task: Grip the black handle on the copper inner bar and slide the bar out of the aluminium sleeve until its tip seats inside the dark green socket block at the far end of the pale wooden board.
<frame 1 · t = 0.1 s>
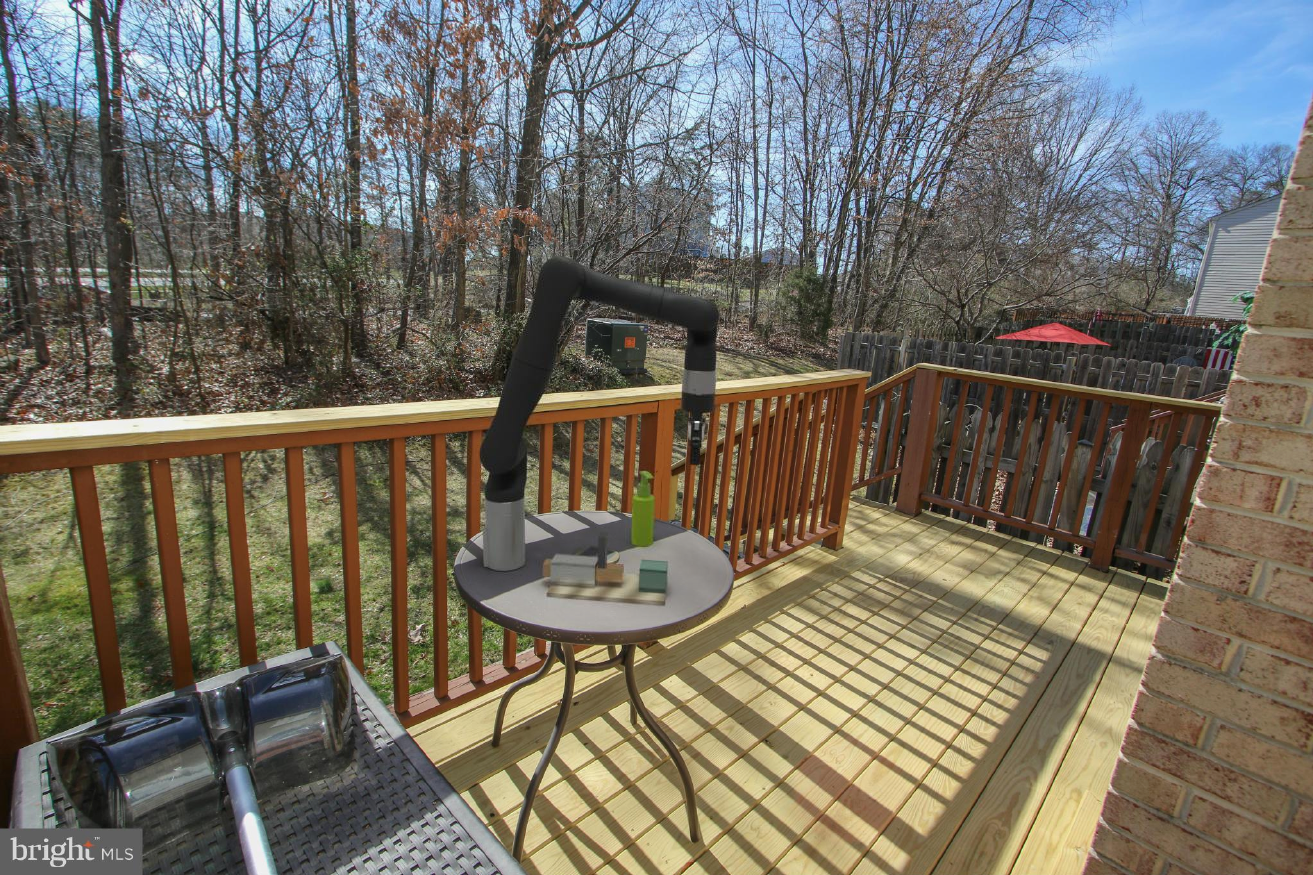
hand: (694, 459, 141), 29 cm above the table, tool pointing down, fingers open, 8 cm apart
outer sleeve: (574, 585, 140), resting on base board
inner bar: (583, 555, 138), point 8 cm above the table, slide at 0.0 cm
base board: (609, 588, 140), on the table
soap dispenser: (642, 543, 166), on the table
socket block: (652, 591, 139), resting on base board
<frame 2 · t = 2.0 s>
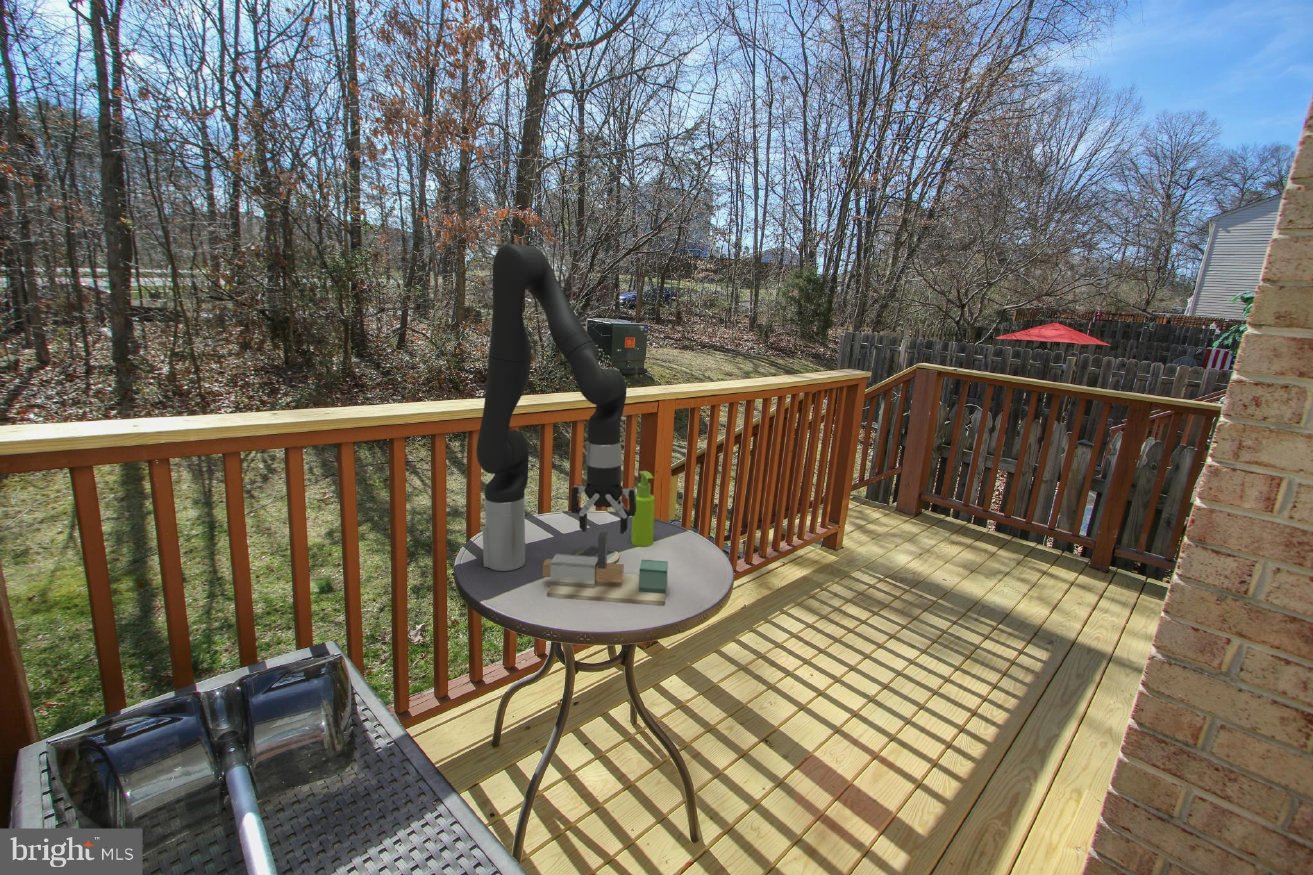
hand: (603, 531, 137), 14 cm above the table, tool pointing down, fingers open, 8 cm apart
nothing on the table moved.
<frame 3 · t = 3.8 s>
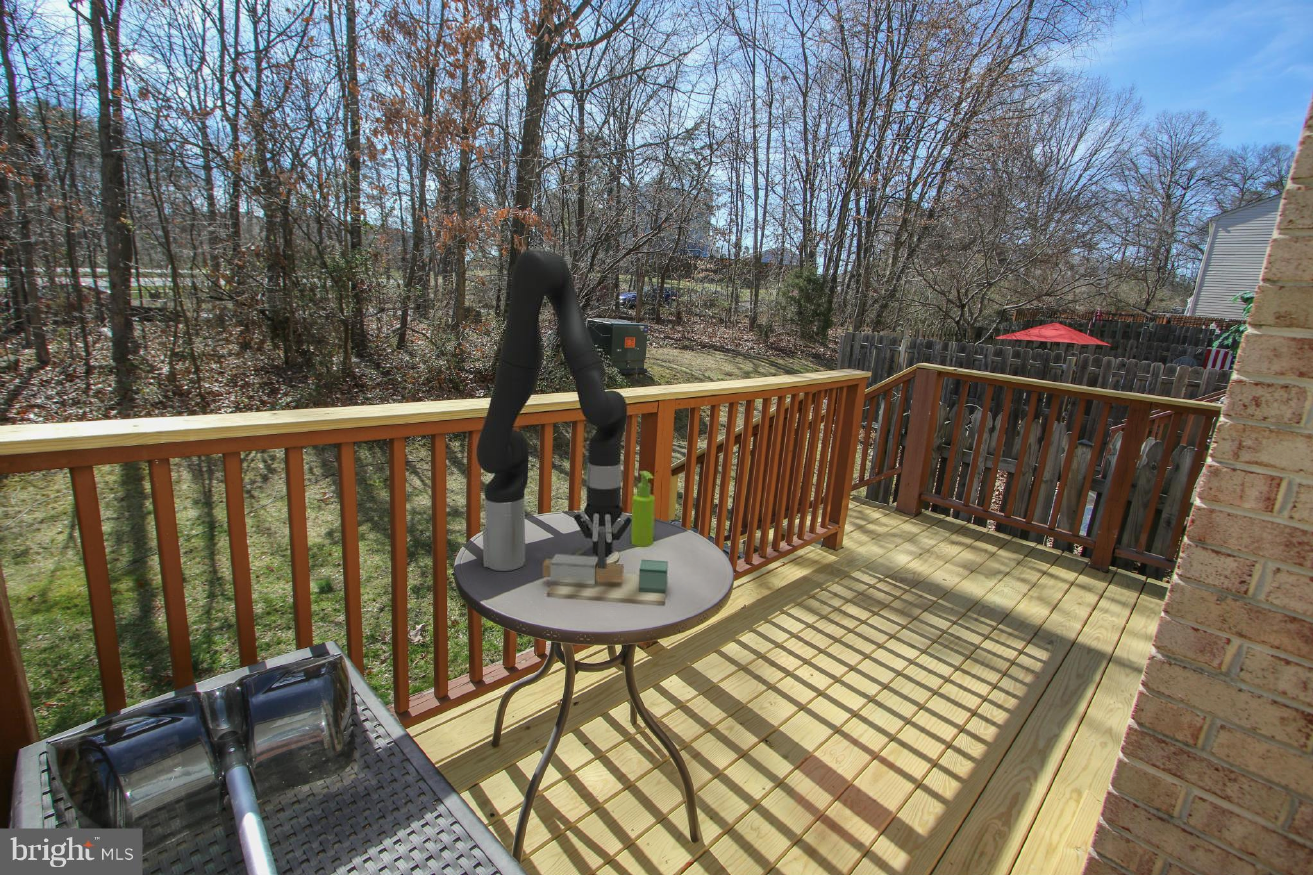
hand: (602, 555, 138), 8 cm above the table, tool pointing down, fingers closed on inner bar
inner bar: (583, 555, 138), point 8 cm above the table, slide at 0.0 cm, touching gripper
everything else where it was.
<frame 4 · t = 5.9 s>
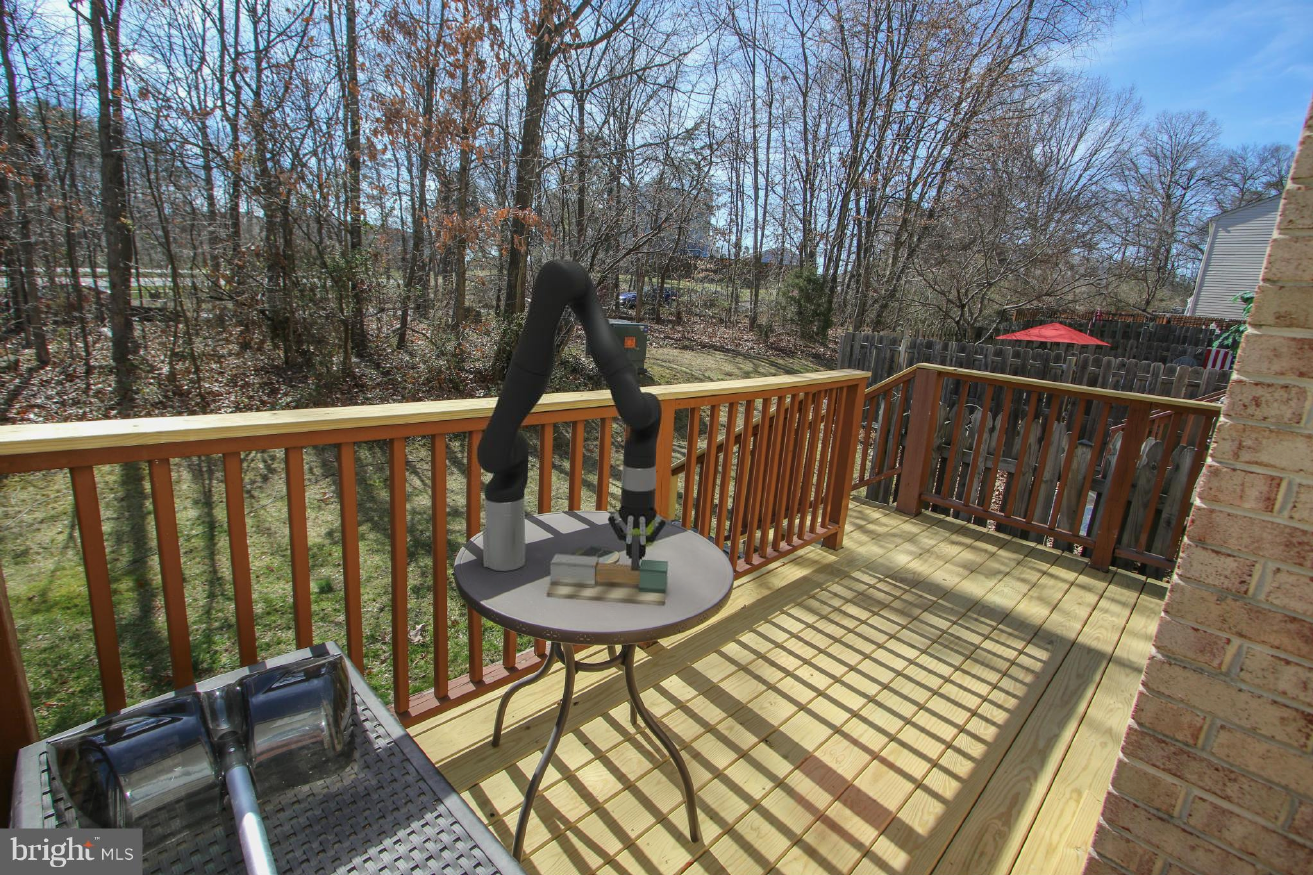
hand: (635, 557, 138), 8 cm above the table, tool pointing down, fingers closed on inner bar
inner bar: (616, 557, 138), point 8 cm above the table, slide at 7.5 cm, touching gripper
everything else where it was.
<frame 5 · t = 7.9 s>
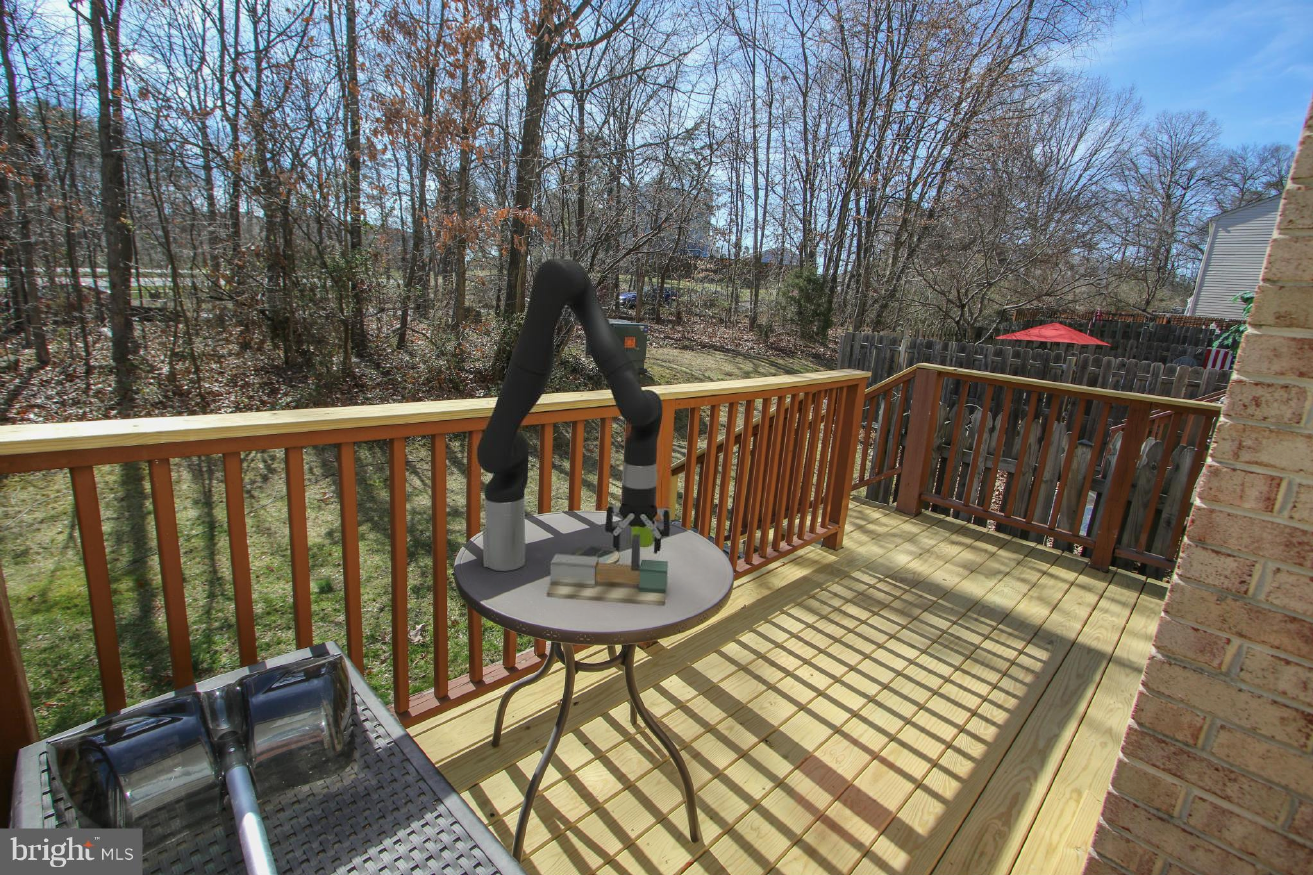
hand: (636, 550, 137), 10 cm above the table, tool pointing down, fingers open, 8 cm apart
inner bar: (616, 557, 138), point 8 cm above the table, slide at 7.5 cm
everything else where it was.
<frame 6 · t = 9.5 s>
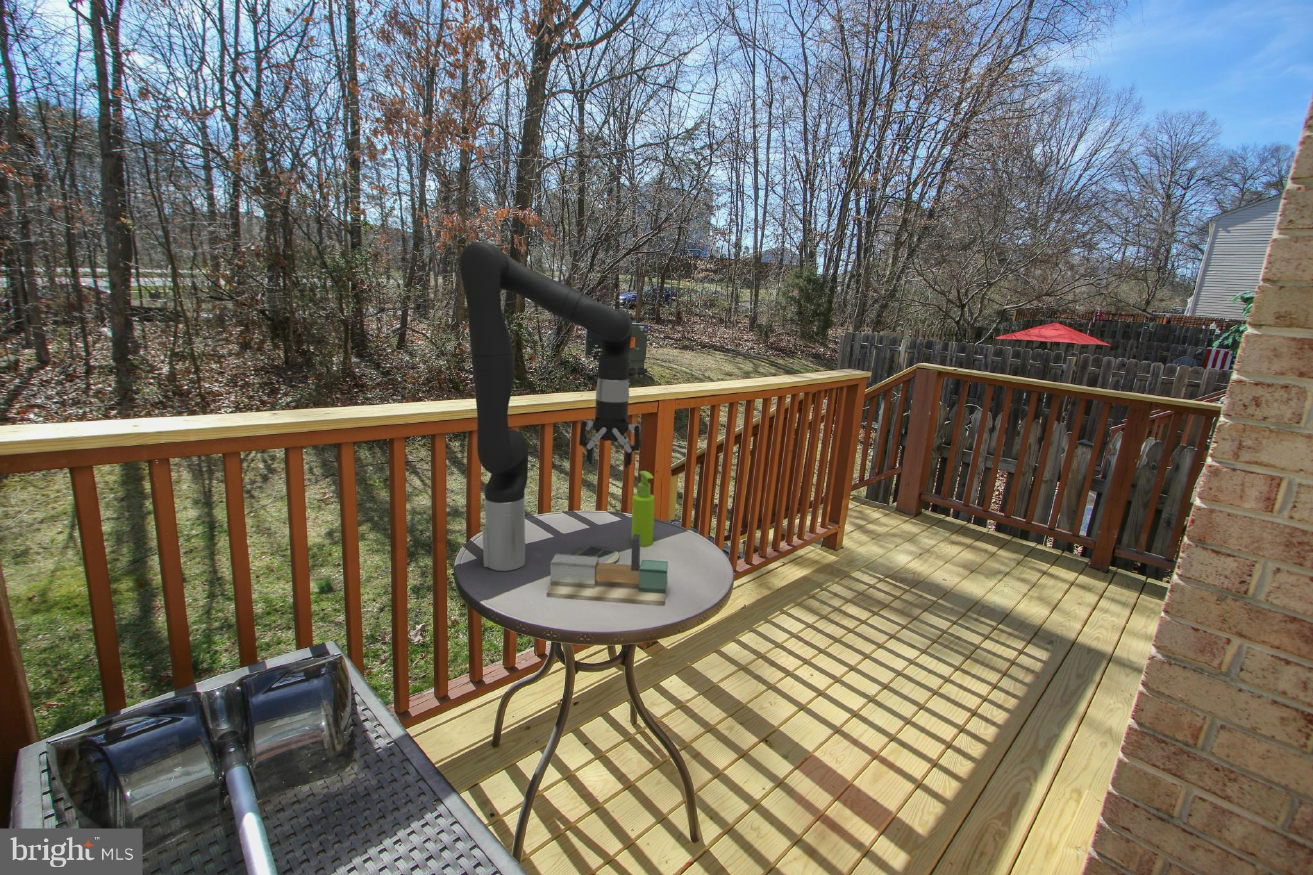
hand: (609, 465, 145), 26 cm above the table, tool pointing down, fingers open, 8 cm apart
nothing on the table moved.
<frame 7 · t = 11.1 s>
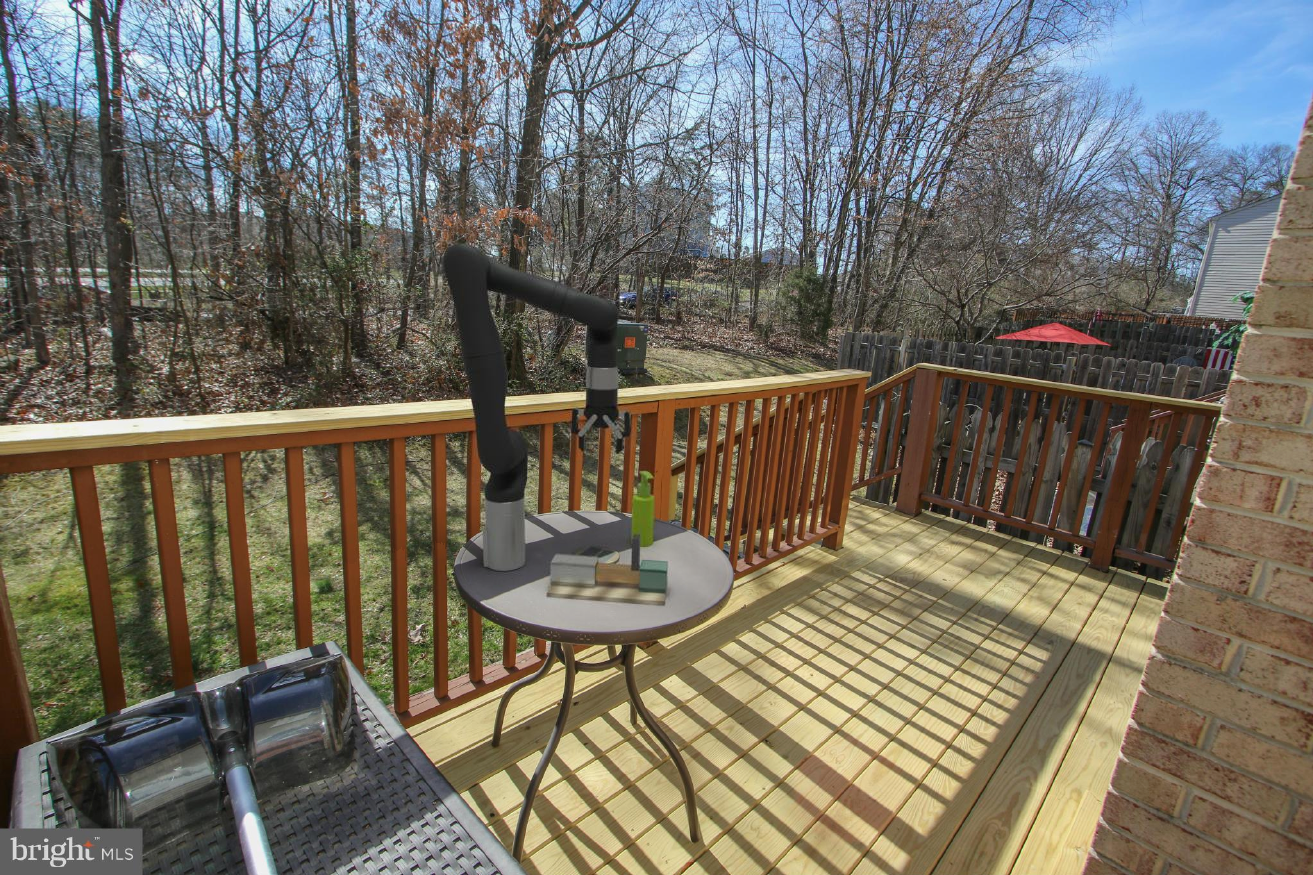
hand: (600, 451, 148), 28 cm above the table, tool pointing down, fingers open, 8 cm apart
nothing on the table moved.
at the end: inner bar slide at 7.5 cm; the gripper is holding nothing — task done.
